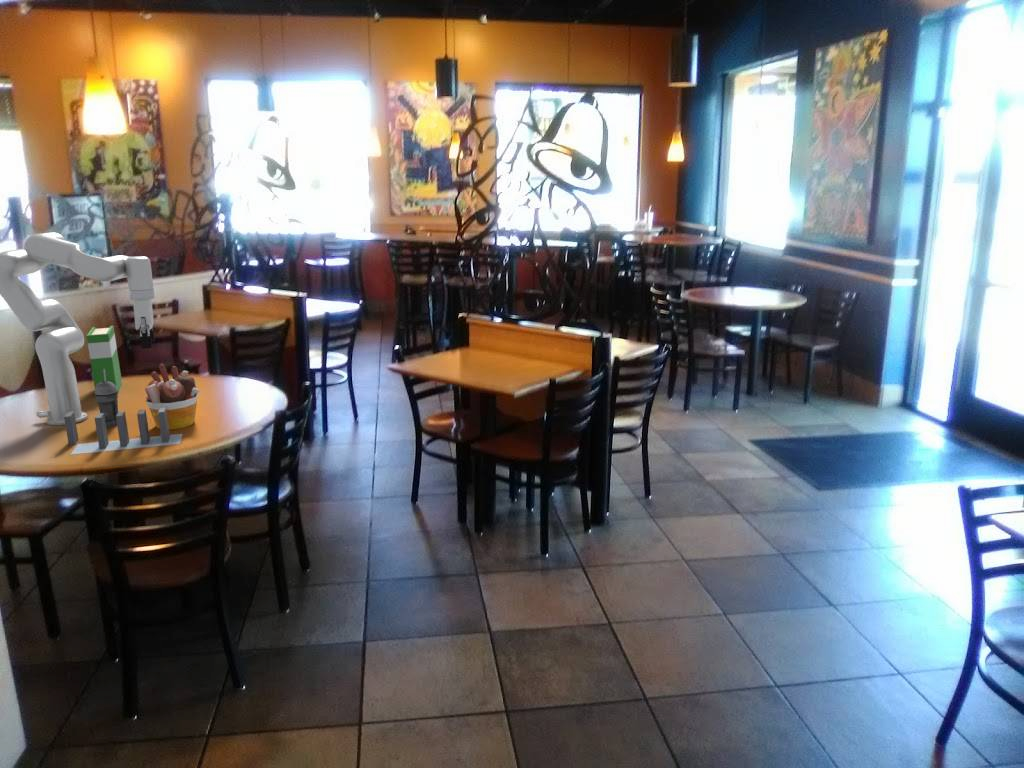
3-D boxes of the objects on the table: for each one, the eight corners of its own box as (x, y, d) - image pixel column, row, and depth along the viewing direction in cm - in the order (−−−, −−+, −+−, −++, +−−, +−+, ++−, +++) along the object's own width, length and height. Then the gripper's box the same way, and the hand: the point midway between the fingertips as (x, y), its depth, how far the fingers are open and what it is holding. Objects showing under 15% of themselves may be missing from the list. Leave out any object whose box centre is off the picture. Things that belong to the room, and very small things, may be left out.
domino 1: (69, 447, 256) (64, 416, 253) (72, 442, 260) (67, 412, 258) (75, 446, 256) (70, 416, 253) (78, 441, 261) (74, 411, 258)
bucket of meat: (208, 428, 271) (201, 370, 266) (155, 438, 262) (147, 378, 257) (193, 414, 287) (186, 359, 282) (143, 422, 279) (135, 366, 273)
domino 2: (99, 449, 251) (94, 418, 249) (102, 444, 256) (97, 413, 253) (105, 448, 252) (100, 417, 249) (108, 443, 257) (104, 412, 254)
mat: (70, 456, 247) (70, 454, 247) (77, 445, 257) (77, 444, 256) (179, 445, 255) (179, 443, 255) (183, 435, 265) (182, 433, 265)
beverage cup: (116, 421, 281) (108, 364, 276) (127, 425, 276) (118, 367, 271) (95, 426, 276) (86, 369, 270) (105, 430, 271) (96, 372, 266)
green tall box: (101, 386, 327) (92, 327, 321) (122, 384, 329) (113, 325, 323) (96, 397, 311) (86, 335, 305) (117, 395, 313) (108, 333, 307)
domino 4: (141, 444, 255) (137, 414, 252) (143, 439, 259) (139, 409, 257) (147, 444, 255) (143, 413, 252) (149, 439, 260) (145, 409, 257)
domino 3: (120, 447, 253) (115, 416, 250) (123, 441, 258) (118, 411, 255) (126, 446, 254) (122, 415, 251) (129, 441, 258) (124, 411, 256)
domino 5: (162, 442, 256) (157, 412, 254) (164, 437, 261) (159, 407, 258) (168, 442, 257) (164, 411, 254) (170, 437, 261) (166, 407, 259)
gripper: (132, 291, 276) (138, 340, 280) (126, 299, 260) (133, 351, 265) (156, 290, 278) (162, 339, 283) (151, 297, 262) (158, 349, 267)
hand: (148, 345), depth 274 cm, fingers open, 9 cm apart
